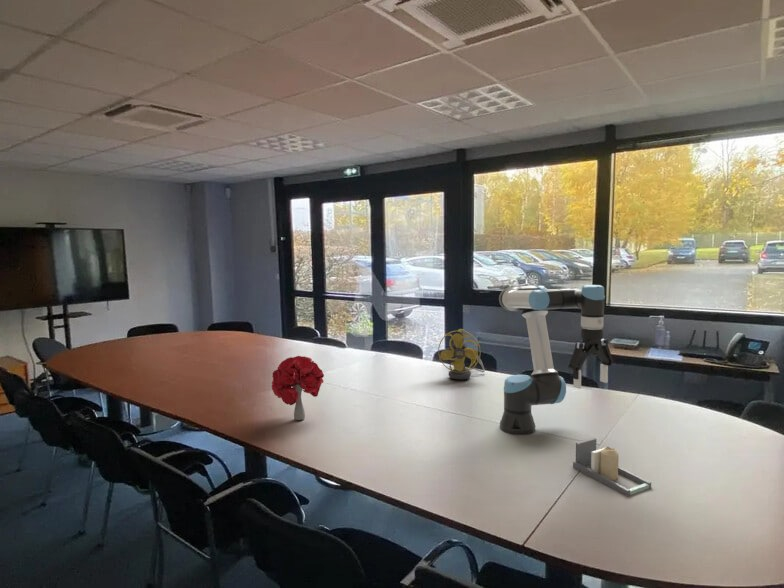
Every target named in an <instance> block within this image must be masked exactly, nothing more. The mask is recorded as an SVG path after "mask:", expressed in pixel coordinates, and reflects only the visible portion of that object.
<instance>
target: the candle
mask: <svg viewBox="0 0 784 588" xmlns="http://www.w3.org/2000/svg"><path fill="white" fill-rule="evenodd" d="M605 447H606V448H605ZM605 447H603V448H604V449H603V450H601V463H600V473H599V474H601V475H603V476H605V477H607V478H608V479H610V480H612V481H615V480H618V479H619V478H618V477H619V473H618V466H619V452H618V451H617V450H616V449H615V448H612V447H609V446H605Z"/></svg>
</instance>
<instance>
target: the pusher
mask: <svg viewBox="0 0 784 588" xmlns="http://www.w3.org/2000/svg"><path fill="white" fill-rule="evenodd" d="M606 447H607V446H605V447H603V448H600V449H596V450H595V451H592V452H591V464H590V469H591V470H593V471H595V472H597V473H599V474H600V463H601V450H603V449H604V448H606Z"/></svg>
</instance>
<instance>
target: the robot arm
mask: <svg viewBox="0 0 784 588" xmlns="http://www.w3.org/2000/svg"><path fill="white" fill-rule="evenodd" d="M605 298H606V295H605V287H604V286H603V285H601V284H583V285H582V286H581V288H578V287H567V288H556V289H555V288H554V289H548V288H546V286H544V285H535V284H533V285H519V286H517V285H515V286H514V285H513V286H508V287H506V288H505V289H503V290H502V291H501V292H500V294H499V296H498V301H499V305H500V306H501V307H502V308H503V309H505V310H507V311H510V312H521V316H522V317H523V318H525V321H526V327H527V332H528V339H529V347H530V353H531V360H532V367H533V371H532V373H531V374H530V375H527V374H513V375H510V376H507V377H506V378H505V380H504V384H503V412H502V416H501V419H500V422H499V429H500V430H501V431H502V432H504V433H507V434H510V435H515V436H526V435H531V434H533V433H535V432H536V423H535V420H534V417H533V414H532V406H540V405H543V406H544V405H554V404H560V403H562V402H563V401H564V400H565V398H566V394H567V384H566V381H565V378H564V377H562V376H560V375H559V371H557V370H556V369H555V367H554V362H553V356H552V355H553V354H552V349H551V344H550V337H549V332H548V326H547V325H548V324H547V319H546V317H547V314H549V310H558V309H559V310H560V309H561V310H562V309H578V310H581V311H580V327H581V328H580V338H581V339H582V341H581V342H578V341H576V342H575V346H574V350H573V353H572V356H571V358H570V360H569V364H568V366H567V367H568V369H570V370H572V379H573V388H576V389H579V390H580V389H582V370H581V368H582V366H583V364H584V362H585V361H586V360H587V358H588V357H589V356H590V355H593V354H596V356H597V357H598V359H599V360H600V362H601V363H600V365H599V366H600V369H599V370H600V371H599V373H600V374H599V382H602V383H604V384H607V383H608V380H609V377H608V376H609V369H610V366H612V365H613V364H612V363H613V362H614V358H613V356H612V353H611V350H610V346H609V341H608V339H605V338H604V329H603V328H604V319H605V317H604V316H605V315H604V314H605V300H606V299H605Z"/></svg>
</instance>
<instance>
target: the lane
mask: <svg viewBox="0 0 784 588" xmlns="http://www.w3.org/2000/svg"><path fill="white" fill-rule="evenodd" d="M595 450H597V438H596V437H591V438H588V439H584V440H580V441H576V442H575V461H572V468H574V469H576V470H578V471H579V472H582V473H583V474H586V475H587V476H589V477H590V478H593V479H594V480H597V482H600V483H602V484H604V485H605V486H608V487H610V488H611V489H613V490H615V491H617V492H619V493H621V494H623V496H626V497H629V496H632V495H634V494H637V493H640V492H643V491H645V489H646V490H648V489H650V488H652V482H651V481H649V480H648V479H645V478H644V477H642V476H640V475H637V474H635V473H633V472H631V471H629V470H627V469H625V468H623V467H622V466H619V465H618V475H621V476H623V477H625V478H627V479H629V480H630V481H633V482H634V483H635V482H636V483H637V484H638V485H636V486H633V487H630V488H627V487H625V486H623V485H621V484H620V483H618V482H616V481H615V480H610V479H608V478H607V477H605V476H603V475H601V474H600V473H597V472H595V471H593V470H591V467H590V468H589V467H587V466H588V465H591V452H592V451H595Z"/></svg>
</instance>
